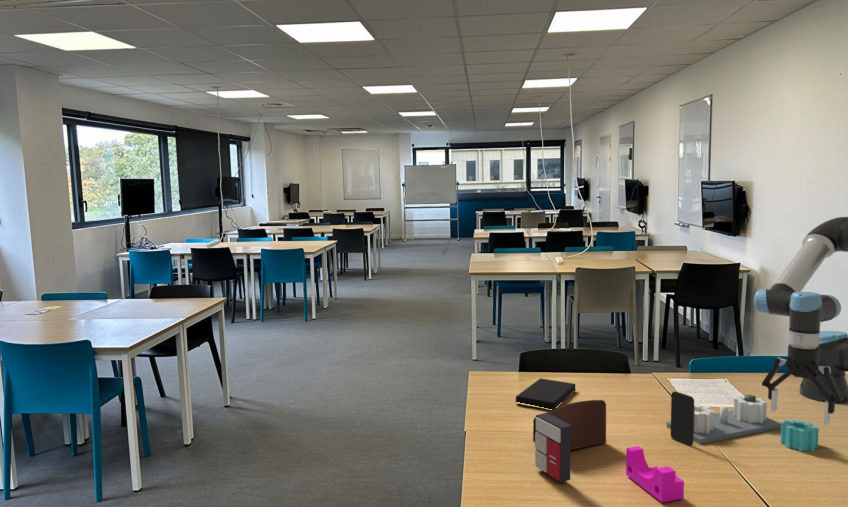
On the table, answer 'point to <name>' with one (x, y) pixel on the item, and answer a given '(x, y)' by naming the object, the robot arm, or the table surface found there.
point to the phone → (682, 418)
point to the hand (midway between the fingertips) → (799, 417)
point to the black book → (546, 393)
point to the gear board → (731, 420)
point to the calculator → (553, 446)
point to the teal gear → (799, 435)
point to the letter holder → (582, 422)
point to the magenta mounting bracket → (653, 476)
